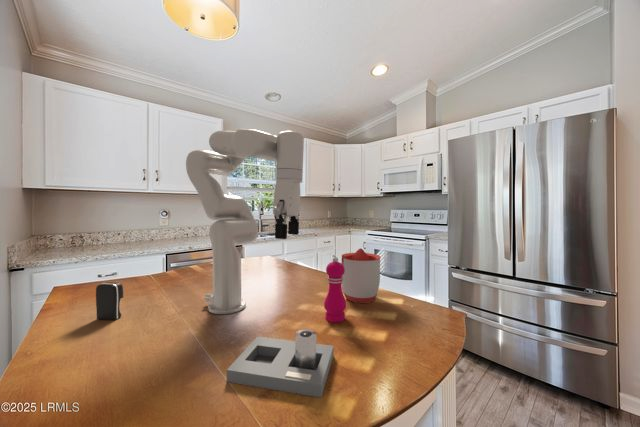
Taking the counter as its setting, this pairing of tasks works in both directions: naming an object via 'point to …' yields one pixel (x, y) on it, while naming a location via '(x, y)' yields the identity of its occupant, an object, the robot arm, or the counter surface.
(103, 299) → the battery charger
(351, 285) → the citrus juicer
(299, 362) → the bushing
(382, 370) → the counter surface
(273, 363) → the block
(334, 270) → the pepper mill
